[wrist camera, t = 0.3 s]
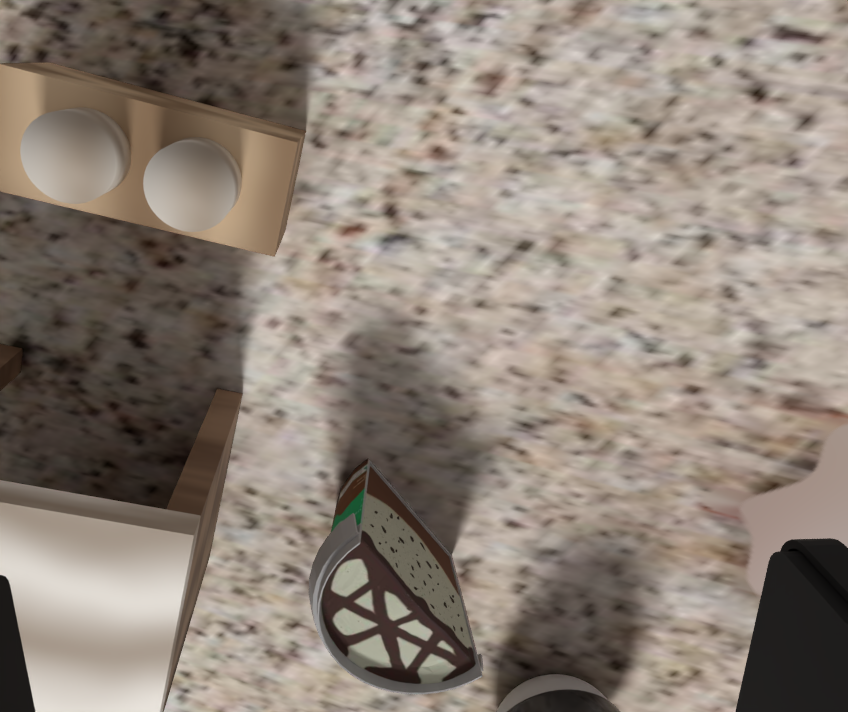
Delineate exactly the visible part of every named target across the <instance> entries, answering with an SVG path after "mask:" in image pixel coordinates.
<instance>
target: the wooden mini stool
mask: <svg viewBox="0 0 848 712" xmlns="http://www.w3.org/2000/svg"><path fill="white" fill-rule="evenodd" d="M22 352H23V348H18V347H13V346H8V345H4V344H0V391H1V390H2V389H3V388H4V387H5V386H6V385H7V384H8V383H10V382H11V381H12V380H13V379H14V378H15V377H16V376H17V375H18V374H19V373H20V372H21V363H22ZM241 399H242V393H237V392H232V391H227V390H222V389H217V390H216V393H215V395H214V397H213V400H212V402H211V404H210V407H209V409H208V412H207V414H206V416H205V419H204V421H203V423H202V426H201V428H200V430H199V433H198V435H197V438H196V440H195V442H194V445H193V447H192V449H191V452H190V454H189V456H188V459H187V461H186V463H185V466H184V468H183V471H182V473H181V475H180V478H179V480H178V482H177V485H176V487H175V489H174V492H173V494H172V496H171V499H170V501H169V504H168V506H167V508H166V509H161V508H155V507H150V506H144V505H138V504H133V503H127V502H121V501H116V500H110V499H104V498H99V497H93V496H87V495H82V494H76V493H70V492H65V491H59V490H54V489H48V488H42V487H37V486H31V485H25V484H20V483H14V482H8V481H3V480H0V575H3V576H6V578H7V579H8V580H9V584H10V587H11V592H12V597H13V602H14V607H15V612H16V617H17V622H18V627H19V632H20V637H21V642H22V647H23V652H24V657H25V662H26V667H27V672H28V677H29V682H30V687H31V692H32V697H33V702H34V707H35V712H164V708H165V705H166V702H167V698H168V695H169V692H170V688H171V685H172V681H173V678H174V675H175V671H176V668H177V665H178V661H179V658H180V655H181V651H182V648H183V644H184V641H185V638H186V634H187V631H188V628H189V624H190V621H191V617H192V614H193V611H194V607H195V604H196V601H197V597H198V594H199V590H200V587H201V584H202V580H203V577H204V574H205V570H206V567H207V564H208V560H209V556H210V552H211V547H212V542H213V537H214V532H215V527H216V522H217V517H218V512H219V507H220V502H221V497H222V492H223V488H224V483H225V478H226V473H227V468H228V463H229V458H230V453H231V448H232V443H233V438H234V433H235V429H236V424H237V419H238V414H239V409H240V404H241Z"/></svg>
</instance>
